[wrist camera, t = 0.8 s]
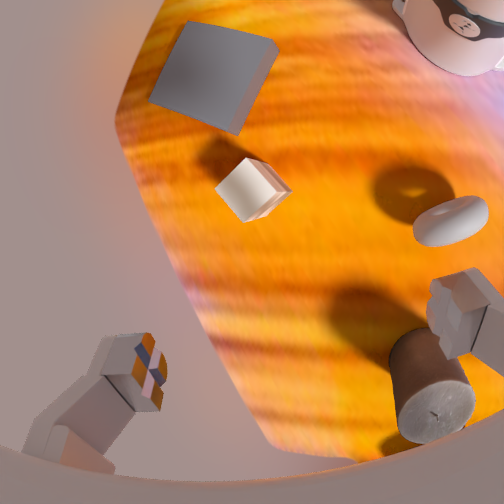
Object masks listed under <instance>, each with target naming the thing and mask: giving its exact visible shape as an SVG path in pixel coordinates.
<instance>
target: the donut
mask: <svg viewBox="0 0 504 504" xmlns="http://www.w3.org/2000/svg"><path fill="white" fill-rule="evenodd" d="M488 215H489V211H488V206H487V204H486V202H485V201H484V200H483V199H481V198H480V197H477V196H464V197H460V198H456V199H453V200H450V201H447V202H444V203H442V204H439V205H437V206H435V207H433V208H430V209H429V210H427V211H425V212H423V213H422V214H421V215H419V216H418V218H417V219H416V220H415V221H414V224H413V233H414V237H415V239H416V240H417V241H418V242H419V243H420V244H423V245H425V246H431V247H438V246H444V245H448V244H452V243H455V242H458V241H461V240H463V239H466V238H468V237H470V236H472V235H473V234H475V233H476V232H478V231H479V230H480V229H481V228H482V227H483V226H484V225H485V224H486V222H487V220H488Z"/></svg>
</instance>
